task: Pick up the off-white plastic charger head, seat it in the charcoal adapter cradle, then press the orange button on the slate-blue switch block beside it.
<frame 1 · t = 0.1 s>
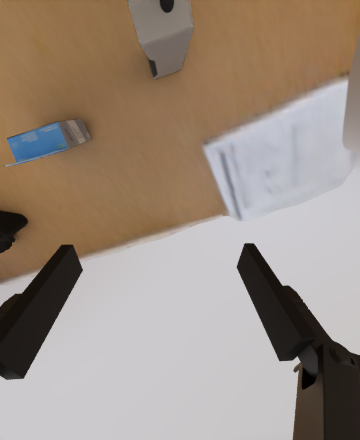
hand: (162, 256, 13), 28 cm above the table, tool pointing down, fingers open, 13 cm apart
label tape box: (68, 136, 32), on the table
vintage mobile phone: (163, 61, 28), on the table
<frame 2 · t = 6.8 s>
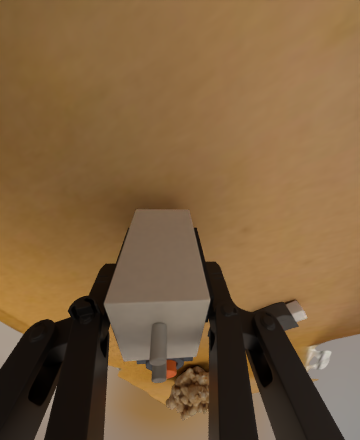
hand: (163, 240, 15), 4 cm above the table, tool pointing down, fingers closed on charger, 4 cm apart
button: (164, 368, 31), point 4 cm above the table, slide at 0.2 cm
usb drive: (265, 313, 31), on the table
charger: (163, 237, 15), point 4 cm above the table, touching gripper
mineral formation: (190, 371, 45), on the table
switch block: (165, 344, 35), on the table
when the fingers open (2 cm above the table, at t = 14.9 s): charger stays where it is, resting on cradle.
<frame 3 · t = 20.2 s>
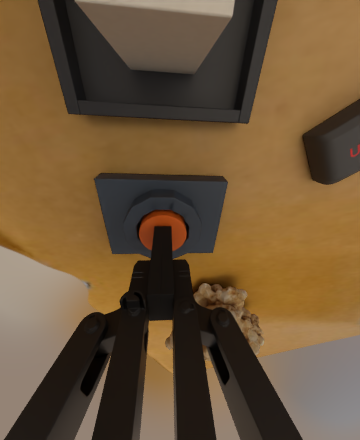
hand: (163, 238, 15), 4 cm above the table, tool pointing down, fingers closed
button: (163, 230, 16), point 3 cm above the table, slide at -0.8 cm, touching gripper
charger: (162, 4, 10), point 1 cm above the table, touching cradle
mineral formation: (204, 301, 29), on the table
cradle: (162, 11, 10), on the table
switch block: (163, 213, 19), on the table
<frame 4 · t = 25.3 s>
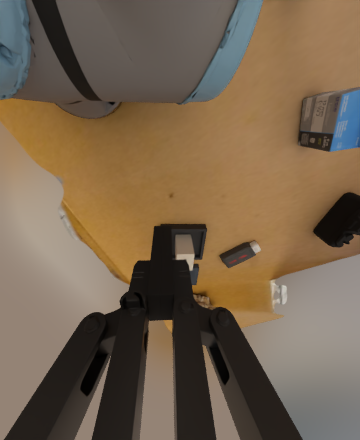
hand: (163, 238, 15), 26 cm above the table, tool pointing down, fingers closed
label tape box: (308, 120, 34), on the table
usb drive: (238, 251, 54), on the table
charger: (182, 242, 49), point 1 cm above the table, touching cradle
film camera: (338, 215, 48), on the table
mineral formation: (194, 301, 68), on the table
cradle: (182, 240, 49), on the table
switch block: (179, 273, 57), on the table
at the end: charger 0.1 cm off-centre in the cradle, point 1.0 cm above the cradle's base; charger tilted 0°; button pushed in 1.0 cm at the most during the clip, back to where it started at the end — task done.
